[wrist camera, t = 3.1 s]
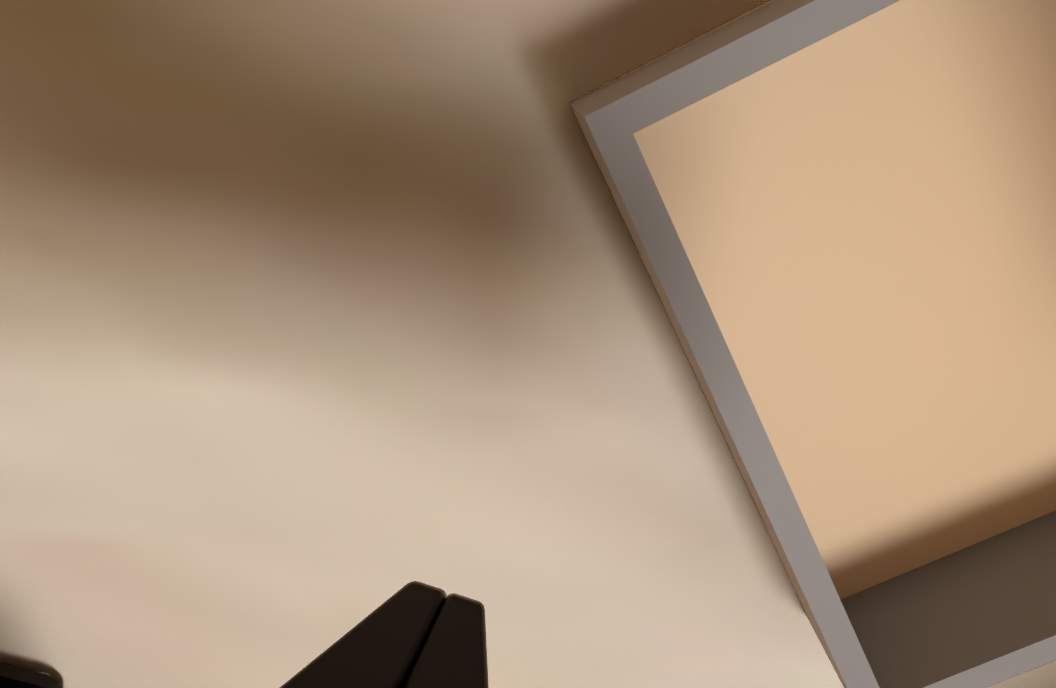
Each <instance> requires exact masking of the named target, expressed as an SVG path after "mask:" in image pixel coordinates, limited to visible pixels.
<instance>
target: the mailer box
mask: <svg viewBox="0 0 1056 688" xmlns="http://www.w3.org/2000/svg"><path fill="white" fill-rule="evenodd" d="M569 103H570V106H571V108H572V110H573V112H574V114H575V116H576V119H577V121H578V123H579V125H580V127H581V129H582V131H583V134H584V136H585V138H586V140H587V142H588V144H589V147H590V149H591V151H592V153H593V155H594V157H595V160H596V162H597V164H598V166H599V168H600V170H601V173H602V175H603V177H604V179H605V181H606V183H607V185H608V188H609V190H610V192H611V194H612V196H613V198H614V201H615V203H616V205H617V207H618V209H619V211H620V214H621V216H622V218H623V220H624V222H625V224H626V227H627V229H628V231H629V233H630V235H631V237H632V239H633V242H634V244H635V246H636V248H637V250H638V252H639V255H640V257H641V259H642V261H643V263H644V265H645V268H646V270H647V272H648V274H649V276H650V278H651V280H652V283H653V285H654V287H655V289H656V291H657V293H658V296H659V298H660V300H661V302H662V304H663V306H664V309H665V311H666V313H667V315H668V317H669V319H670V322H671V324H672V326H673V328H674V330H675V332H676V334H677V337H678V339H679V341H680V343H681V345H682V347H683V350H684V352H685V354H686V356H687V358H688V360H689V363H690V365H691V367H692V369H693V371H694V373H695V376H696V378H697V380H698V382H699V384H700V386H701V388H702V391H703V393H704V395H705V397H706V399H707V401H708V404H709V406H710V408H711V410H712V412H713V414H714V417H715V419H716V421H717V423H718V425H719V427H720V430H721V432H722V434H723V436H724V438H725V440H726V442H727V445H728V447H729V449H730V451H731V453H732V455H733V458H734V460H735V462H736V464H737V466H738V468H739V471H740V473H741V475H742V477H743V479H744V481H745V483H746V486H747V488H748V490H749V492H750V494H751V496H752V499H753V501H754V503H755V505H756V507H757V509H758V512H759V514H760V516H761V518H762V520H763V522H764V525H765V527H766V529H767V531H768V533H769V535H770V537H771V540H772V542H773V544H774V546H775V548H776V550H777V553H778V555H779V557H780V559H781V561H782V563H783V566H784V568H785V570H786V572H787V574H788V576H789V579H790V581H791V583H792V585H793V587H794V589H795V591H796V594H797V596H798V598H799V600H800V602H801V604H802V607H803V609H804V611H805V613H806V615H807V617H808V619H809V621H810V623H811V625H812V627H813V629H814V631H815V633H816V635H817V637H818V638H819V640H820V642H821V644H822V646H823V648H824V650H825V652H826V654H827V656H828V658H829V660H830V661H831V663H832V665H833V667H834V669H835V671H836V673H837V675H838V677H839V679H840V681H841V683H842V684H843V686H844V688H986V687H989V686H992V685H994V684H997V683H999V682H1002V681H1004V680H1007V679H1009V678H1012V677H1015V676H1017V675H1020V674H1022V673H1025V672H1027V671H1030V670H1032V669H1035V668H1037V667H1040V666H1043V665H1045V664H1048V663H1050V662H1053V661H1055V660H1056V0H770V1H768V2H766V3H764V4H762V5H760V6H758V7H756V8H754V9H752V10H750V11H748V12H746V13H744V14H742V15H740V16H738V17H736V18H734V19H732V20H730V21H728V22H727V23H725V24H723V25H721V26H719V27H717V28H715V29H713V30H711V31H709V32H707V33H705V34H703V35H701V36H699V37H697V38H695V39H693V40H691V41H689V42H687V43H685V44H683V45H681V46H679V47H677V48H675V49H674V50H672V51H670V52H668V53H666V54H664V55H662V56H660V57H658V58H656V59H654V60H652V61H650V62H648V63H646V64H644V65H642V66H640V67H638V68H636V69H634V70H632V71H630V72H628V73H626V74H624V75H622V76H621V77H619V78H617V79H615V80H613V81H611V82H609V83H607V84H605V85H603V86H601V87H599V88H597V89H595V90H593V91H591V92H589V93H587V94H585V95H583V96H581V97H579V98H577V99H575V100H573V101H571V102H569Z"/></svg>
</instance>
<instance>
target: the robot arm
mask: <svg viewBox="0 0 1056 688" xmlns="http://www.w3.org/2000/svg"><path fill="white" fill-rule="evenodd" d="M0 688H61V686H60V684H59V683H58V681H56V680H55V679H54V678H53V677H51V676H49V675H46V674H43V673H39V672H35V671H31V670H27V669H23V668H19V667H15V666H11V665H8V664H4V663H0ZM280 688H488V669H487V649H486V628H485V609H484V606H483V604H482V603H481V602H479V601H476V600H473V599H470V598H467V597H464V596H461V595H458V594H453V593H452V594H449V595H448V596H446V593H445V591H443V590H442V589H439V588H436V587H433V586H430V585H427V584H424V583H421V582H417V581H414V582H410V583H408V584H407V585H405V586H404V587H403V588H402V589H400V590H399V591H398V592H397V593H396V594H394V595H393V596H392V597H391V598H389V599H388V600H387V601H386V602H384V603H383V604H382V605H381V606H380V607H378V608H377V609H376V610H375V611H373V612H372V613H371V614H370V615H368V616H367V617H366V618H365V619H364V620H362V621H361V622H360V623H359V624H357V625H356V626H355V627H354V628H353V629H351V630H350V631H349V632H348V633H346V634H345V635H344V636H343V637H341V638H340V639H339V640H338V641H337V642H335V643H334V644H333V645H332V646H330V647H329V648H328V649H327V650H326V651H324V652H323V653H322V654H321V655H319V656H318V657H317V658H316V659H314V660H313V661H312V662H311V663H310V664H308V665H307V666H306V667H305V668H303V669H302V670H301V671H300V672H298V673H297V674H296V675H295V676H294V677H292V678H291V679H290V680H289V681H287V682H286V683H285V684H284V685H283V686H281V687H280Z"/></svg>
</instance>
